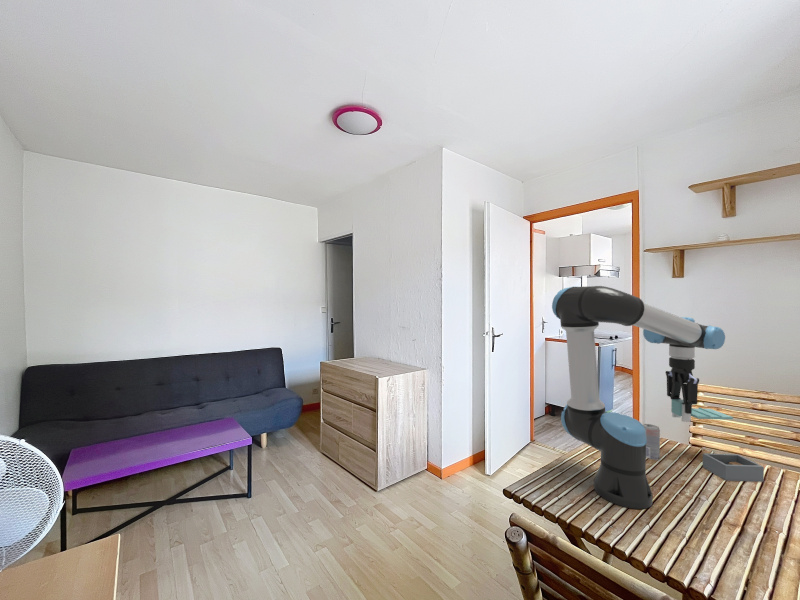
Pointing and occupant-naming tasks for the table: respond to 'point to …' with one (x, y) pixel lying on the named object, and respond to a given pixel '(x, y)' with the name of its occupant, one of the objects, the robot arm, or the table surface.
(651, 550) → the table surface
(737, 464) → the walnut block
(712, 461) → the tub
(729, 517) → the table surface
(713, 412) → the lid
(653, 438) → the energy drink
